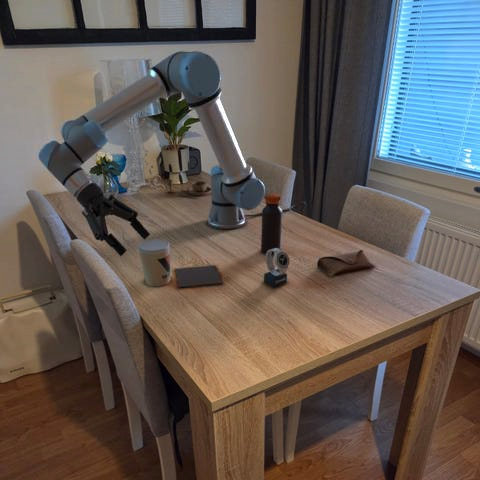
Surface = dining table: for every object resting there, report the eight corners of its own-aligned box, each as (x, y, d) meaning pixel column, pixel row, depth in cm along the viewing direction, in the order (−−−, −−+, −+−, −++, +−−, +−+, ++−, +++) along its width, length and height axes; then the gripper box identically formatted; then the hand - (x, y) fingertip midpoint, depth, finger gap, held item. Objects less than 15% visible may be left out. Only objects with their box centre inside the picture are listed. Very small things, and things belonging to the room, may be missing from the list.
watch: (277, 290, 133) (279, 256, 127) (260, 280, 138) (261, 247, 133) (291, 285, 136) (293, 251, 130) (273, 275, 141) (275, 243, 135)
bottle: (271, 256, 154) (274, 199, 143) (257, 251, 158) (258, 195, 147) (283, 251, 158) (287, 195, 147) (269, 246, 162) (271, 191, 151)
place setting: (198, 199, 210) (197, 187, 207) (166, 192, 219) (165, 180, 216) (219, 190, 223) (219, 178, 220) (188, 184, 232) (187, 173, 229)
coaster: (214, 266, 147) (214, 265, 147) (221, 284, 136) (221, 282, 136) (175, 270, 145) (175, 268, 144) (179, 288, 134) (179, 286, 134)
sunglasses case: (331, 276, 140) (327, 255, 139) (319, 278, 146) (315, 258, 146) (376, 266, 146) (372, 246, 146) (363, 269, 153) (359, 250, 152)
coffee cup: (167, 288, 134) (163, 251, 127) (138, 285, 135) (133, 249, 129) (177, 275, 141) (174, 239, 135) (149, 272, 143) (145, 237, 137)
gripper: (103, 187, 142) (149, 237, 146) (51, 210, 122) (106, 268, 126) (115, 172, 138) (162, 224, 142) (63, 193, 118) (120, 253, 122)
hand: (136, 244), depth 134 cm, fingers open, 13 cm apart
